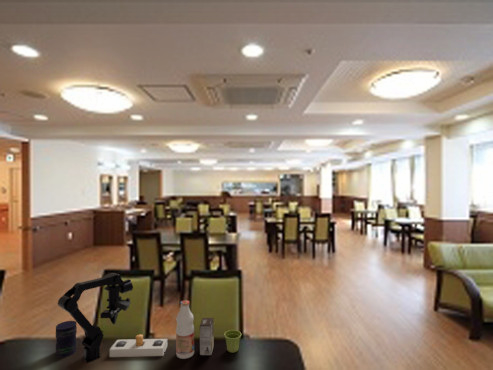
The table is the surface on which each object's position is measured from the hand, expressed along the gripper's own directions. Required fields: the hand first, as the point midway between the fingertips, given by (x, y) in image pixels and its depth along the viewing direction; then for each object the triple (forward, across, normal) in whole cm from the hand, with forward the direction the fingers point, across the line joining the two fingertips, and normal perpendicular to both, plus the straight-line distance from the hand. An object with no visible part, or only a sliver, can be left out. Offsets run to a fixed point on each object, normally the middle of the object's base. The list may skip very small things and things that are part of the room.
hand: (114, 323), depth 167 cm
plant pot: (+13, 0, -67) cm, 68 cm away
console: (+13, -4, -16) cm, 21 cm away
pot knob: (+10, -4, -16) cm, 19 cm away
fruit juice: (+13, -6, -42) cm, 44 cm away
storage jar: (+13, -6, +24) cm, 28 cm away
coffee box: (+13, -2, -53) cm, 54 cm away
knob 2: (+12, -3, -26) cm, 29 cm away
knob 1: (+12, -4, -6) cm, 14 cm away
